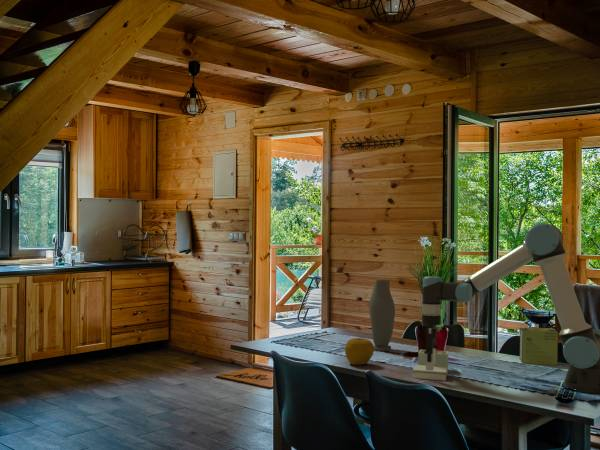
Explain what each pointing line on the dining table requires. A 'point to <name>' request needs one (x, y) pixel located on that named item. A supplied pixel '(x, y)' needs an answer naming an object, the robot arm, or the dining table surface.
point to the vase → (382, 315)
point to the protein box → (538, 345)
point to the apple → (359, 351)
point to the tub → (440, 358)
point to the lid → (430, 372)
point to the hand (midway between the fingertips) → (430, 367)
